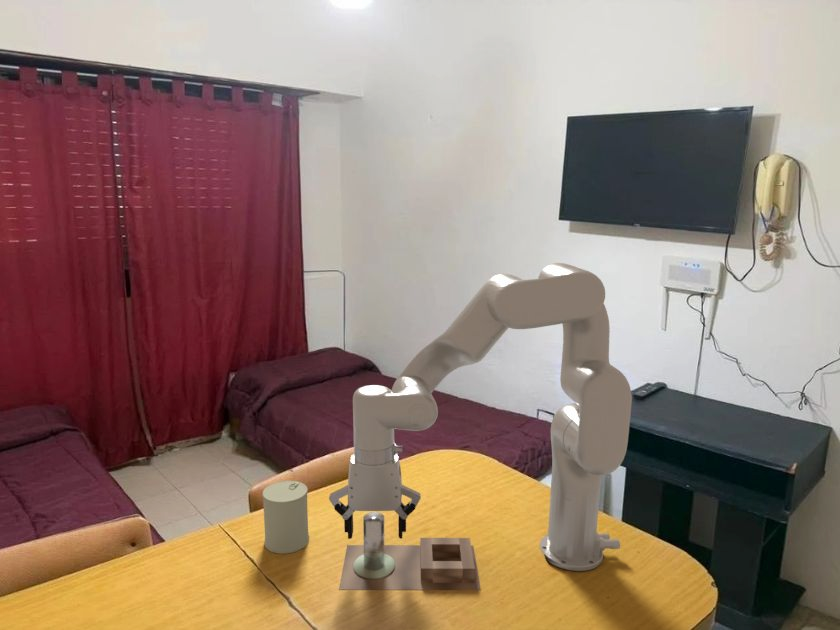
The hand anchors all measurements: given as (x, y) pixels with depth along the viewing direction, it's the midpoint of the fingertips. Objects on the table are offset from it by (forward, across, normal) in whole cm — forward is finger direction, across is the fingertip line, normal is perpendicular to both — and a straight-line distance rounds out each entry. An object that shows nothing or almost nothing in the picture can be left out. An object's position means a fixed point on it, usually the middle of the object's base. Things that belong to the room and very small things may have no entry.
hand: (375, 534), depth 115 cm
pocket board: (+8, -7, 0) cm, 10 cm away
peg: (+6, 0, 0) cm, 6 cm away
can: (+8, +19, -10) cm, 23 cm away
